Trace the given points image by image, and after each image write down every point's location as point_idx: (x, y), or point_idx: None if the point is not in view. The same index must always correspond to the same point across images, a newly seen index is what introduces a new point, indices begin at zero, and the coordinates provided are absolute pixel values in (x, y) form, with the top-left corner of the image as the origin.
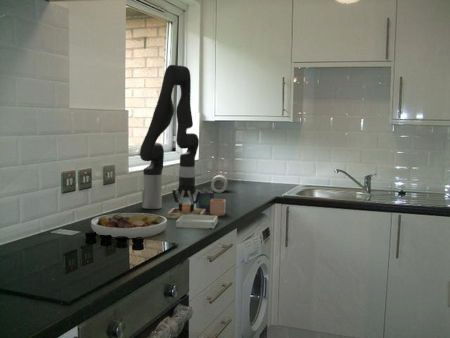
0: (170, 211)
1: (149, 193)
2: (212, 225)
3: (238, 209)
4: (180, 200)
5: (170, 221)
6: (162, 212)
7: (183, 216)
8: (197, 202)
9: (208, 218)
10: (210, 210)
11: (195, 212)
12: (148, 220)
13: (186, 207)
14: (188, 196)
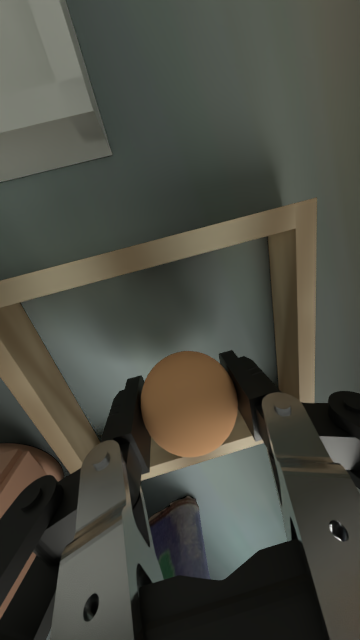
0: (304, 301)
1: None
2: None
3: None
4: (295, 438)
5: (201, 34)
6: (351, 372)
7: (47, 47)
8: (193, 564)
9: None
10: (8, 475)
11: (154, 441)
12: None
13: (169, 374)
14: (164, 625)
